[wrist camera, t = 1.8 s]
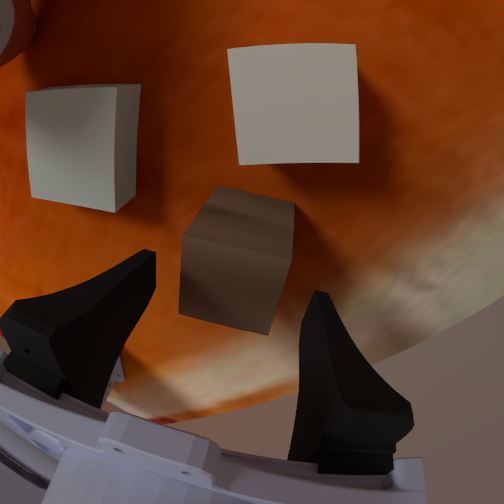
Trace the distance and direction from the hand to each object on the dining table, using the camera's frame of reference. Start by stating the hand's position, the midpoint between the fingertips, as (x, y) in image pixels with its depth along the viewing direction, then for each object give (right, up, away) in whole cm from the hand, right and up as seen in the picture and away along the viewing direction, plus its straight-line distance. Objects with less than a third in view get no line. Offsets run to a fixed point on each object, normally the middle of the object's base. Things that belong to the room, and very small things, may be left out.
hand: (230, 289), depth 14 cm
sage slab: (-9, +9, +3) cm, 13 cm away
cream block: (+3, +9, +1) cm, 10 cm away
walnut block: (+1, +3, +5) cm, 6 cm away
